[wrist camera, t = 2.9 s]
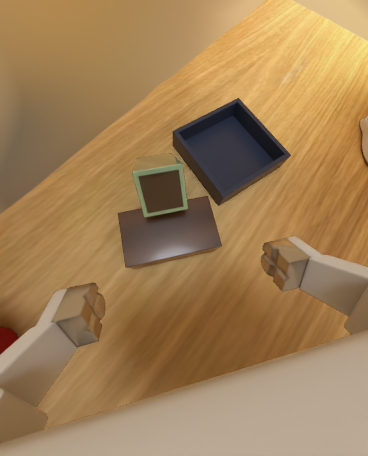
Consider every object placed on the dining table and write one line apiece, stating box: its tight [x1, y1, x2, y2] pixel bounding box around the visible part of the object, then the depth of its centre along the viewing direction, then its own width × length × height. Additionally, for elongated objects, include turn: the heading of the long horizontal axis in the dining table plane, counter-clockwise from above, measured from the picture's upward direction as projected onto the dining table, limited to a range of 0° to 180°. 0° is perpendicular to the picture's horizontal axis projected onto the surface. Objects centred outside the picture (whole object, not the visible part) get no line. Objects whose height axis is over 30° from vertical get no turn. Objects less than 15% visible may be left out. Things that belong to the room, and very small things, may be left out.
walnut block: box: [118, 196, 222, 269], centre depth 24 cm, size 7×12×4 cm, turn 103°
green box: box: [132, 153, 188, 217], centre depth 23 cm, size 10×5×10 cm, turn 13°
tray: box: [173, 98, 291, 205], centre depth 29 cm, size 13×13×3 cm
